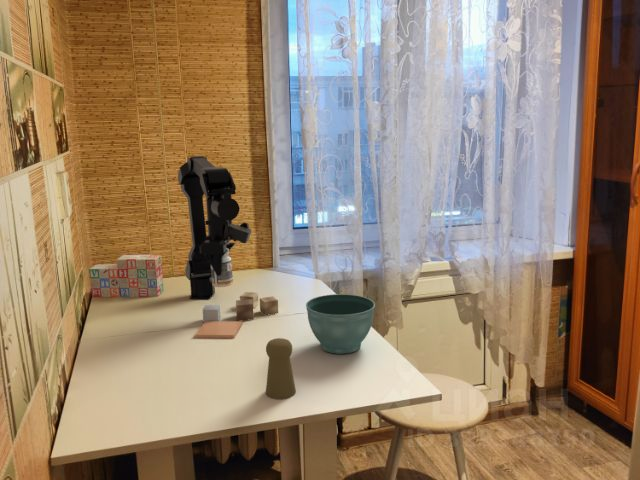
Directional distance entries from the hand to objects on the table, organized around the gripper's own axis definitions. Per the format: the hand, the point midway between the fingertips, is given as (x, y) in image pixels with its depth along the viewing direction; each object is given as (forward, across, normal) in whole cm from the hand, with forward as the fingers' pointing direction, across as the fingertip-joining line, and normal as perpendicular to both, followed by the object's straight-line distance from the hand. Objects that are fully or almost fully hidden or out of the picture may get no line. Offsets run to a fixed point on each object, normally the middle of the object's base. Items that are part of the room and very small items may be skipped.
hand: (221, 272), depth 160 cm
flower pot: (+14, -20, -33) cm, 41 cm away
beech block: (+13, +10, -5) cm, 17 cm away
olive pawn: (+14, -44, -22) cm, 51 cm away
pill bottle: (+4, 0, 0) cm, 4 cm away
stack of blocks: (+13, +23, +36) cm, 45 cm away
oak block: (+13, +5, -12) cm, 18 cm away
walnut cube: (+13, +1, -6) cm, 14 cm away
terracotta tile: (+13, -10, -1) cm, 16 cm away
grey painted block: (+13, -2, +3) cm, 14 cm away
